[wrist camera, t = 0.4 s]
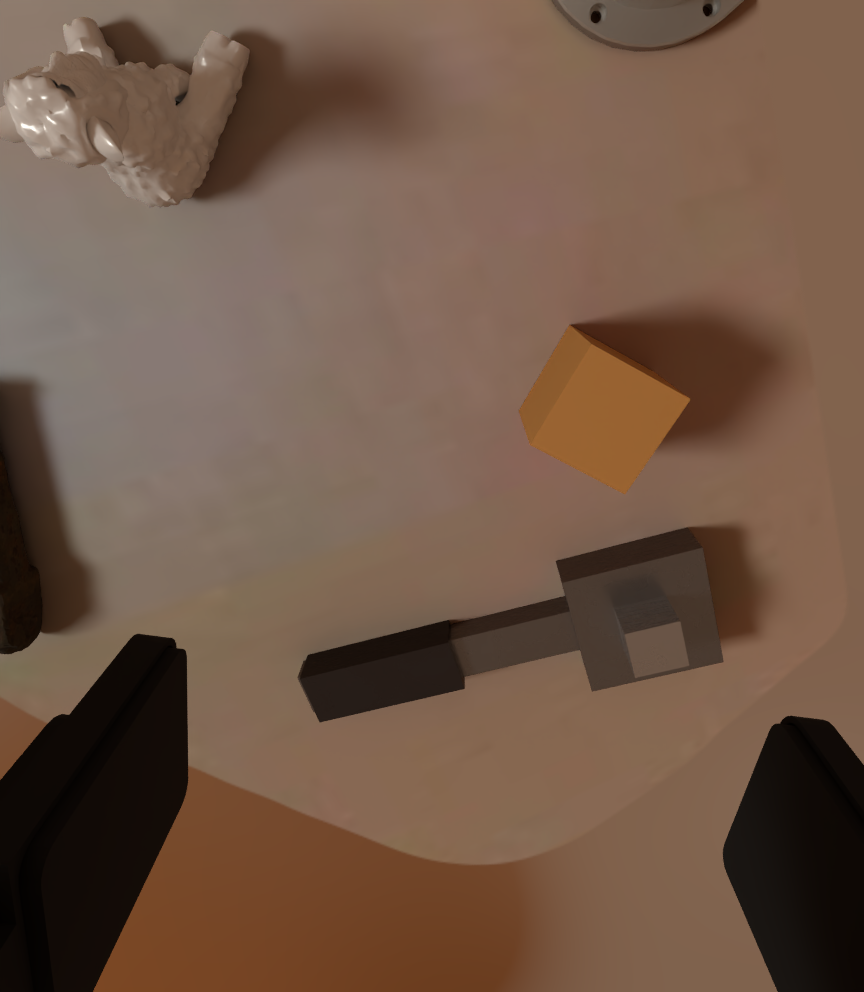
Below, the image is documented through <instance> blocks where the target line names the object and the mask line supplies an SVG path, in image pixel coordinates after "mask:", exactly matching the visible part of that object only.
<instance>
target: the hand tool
mask: <svg viewBox="0 0 864 992" xmlns="http://www.w3.org/2000/svg"><path fill="white" fill-rule="evenodd" d="M41 622H42V599H41V596H40V578H39V572H38V570H37V568H36V567H33V566H31V565H30V564H29V562H28V559H27V555H26V552H25V548H24V542H23V538H22V533H21V529H20V521H19V515H18V513H17V510H16V508H15V506H14V503H13V499H12V495H11V491H10V487H9V483H8V475H7V471H6V468H5V462H4V457H3V455H2V453H1V451H0V654H12V653H14V652H17V651H22V650H23V649H25V648H27V647H28V646H29V645H30V644H31V643H32V642H33V641H34V640H35V639H36V638H37V636H38V635H39V633H40V629H41Z"/></svg>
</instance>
